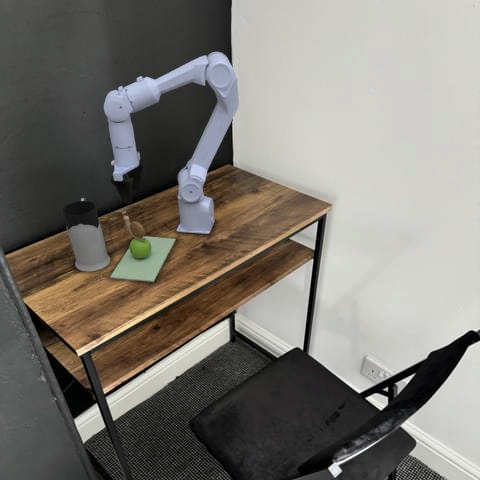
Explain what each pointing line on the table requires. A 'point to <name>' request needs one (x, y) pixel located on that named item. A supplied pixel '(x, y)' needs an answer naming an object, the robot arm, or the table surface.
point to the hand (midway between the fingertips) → (132, 195)
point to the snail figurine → (137, 239)
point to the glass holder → (86, 235)
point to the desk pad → (144, 261)
